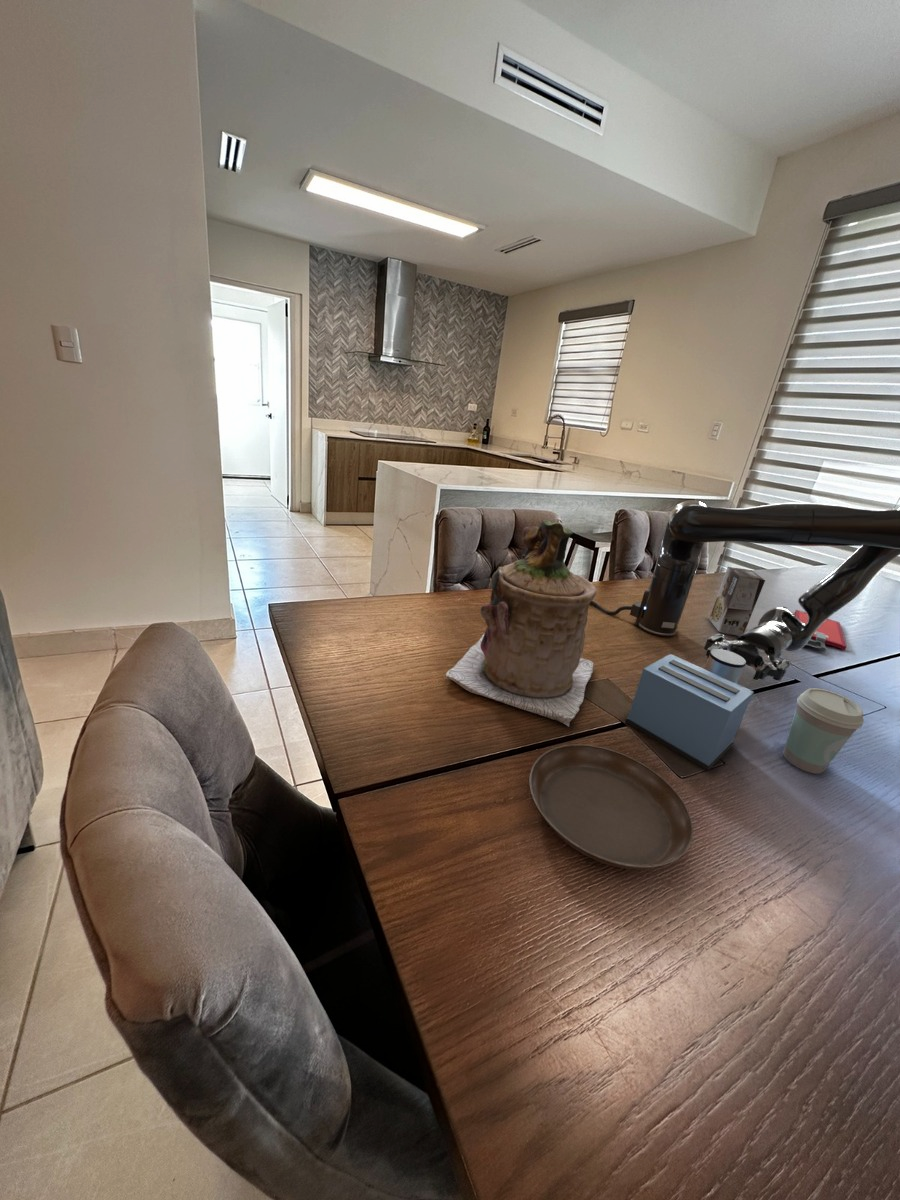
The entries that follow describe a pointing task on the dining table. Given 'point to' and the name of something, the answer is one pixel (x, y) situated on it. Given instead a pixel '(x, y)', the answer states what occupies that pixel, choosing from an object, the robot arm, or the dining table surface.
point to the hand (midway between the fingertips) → (732, 664)
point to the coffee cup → (820, 729)
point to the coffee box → (736, 600)
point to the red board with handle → (824, 633)
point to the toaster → (688, 709)
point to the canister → (725, 664)
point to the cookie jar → (533, 632)
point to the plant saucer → (610, 807)
